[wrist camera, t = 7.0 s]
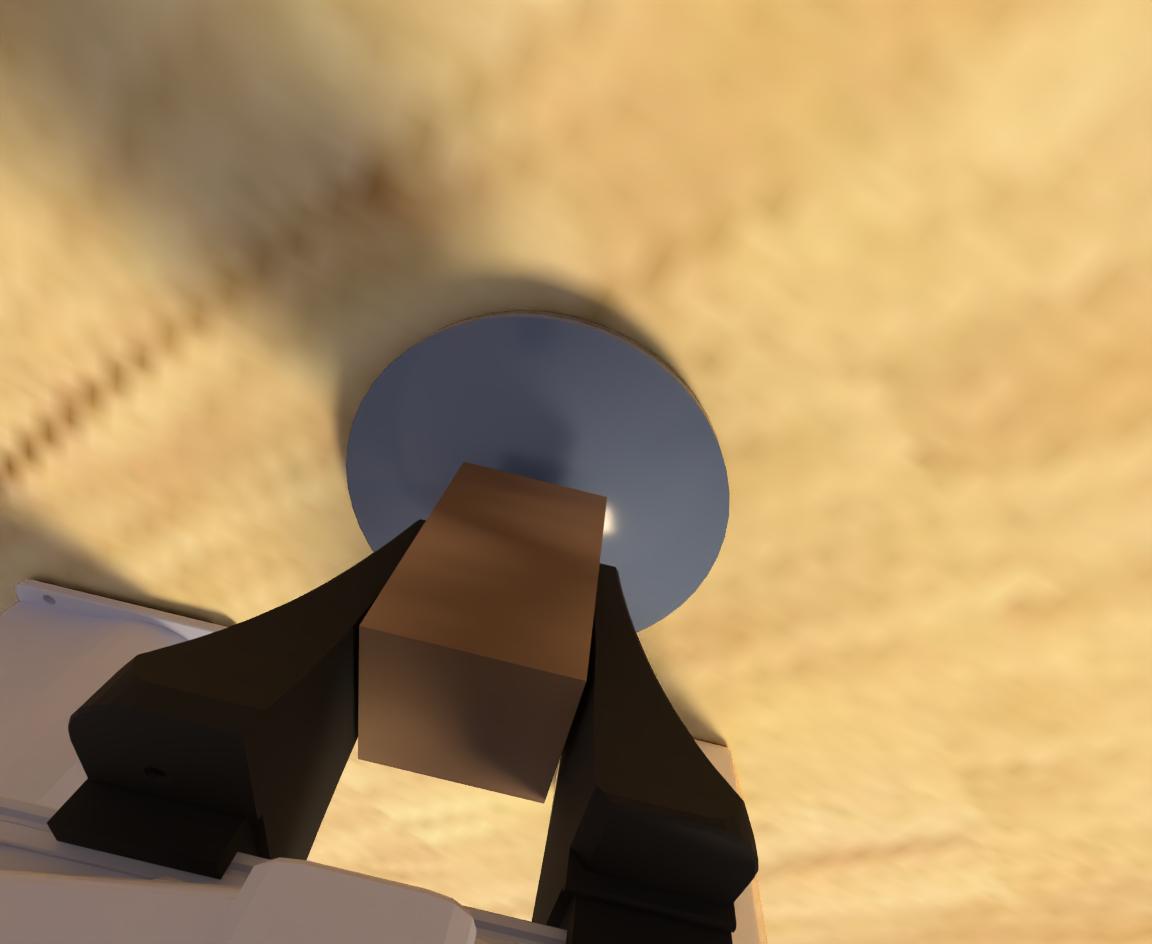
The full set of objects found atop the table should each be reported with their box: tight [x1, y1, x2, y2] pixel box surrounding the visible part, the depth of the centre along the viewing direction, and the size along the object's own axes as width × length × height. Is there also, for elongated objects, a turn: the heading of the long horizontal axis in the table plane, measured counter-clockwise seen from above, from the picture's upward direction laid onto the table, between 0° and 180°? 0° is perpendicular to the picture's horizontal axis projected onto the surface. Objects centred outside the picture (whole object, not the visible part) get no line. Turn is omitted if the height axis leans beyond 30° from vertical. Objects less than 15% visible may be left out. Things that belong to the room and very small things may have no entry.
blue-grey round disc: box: [346, 311, 729, 632], centre depth 17 cm, size 12×12×1 cm
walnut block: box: [358, 462, 607, 803], centre depth 13 cm, size 4×4×6 cm
